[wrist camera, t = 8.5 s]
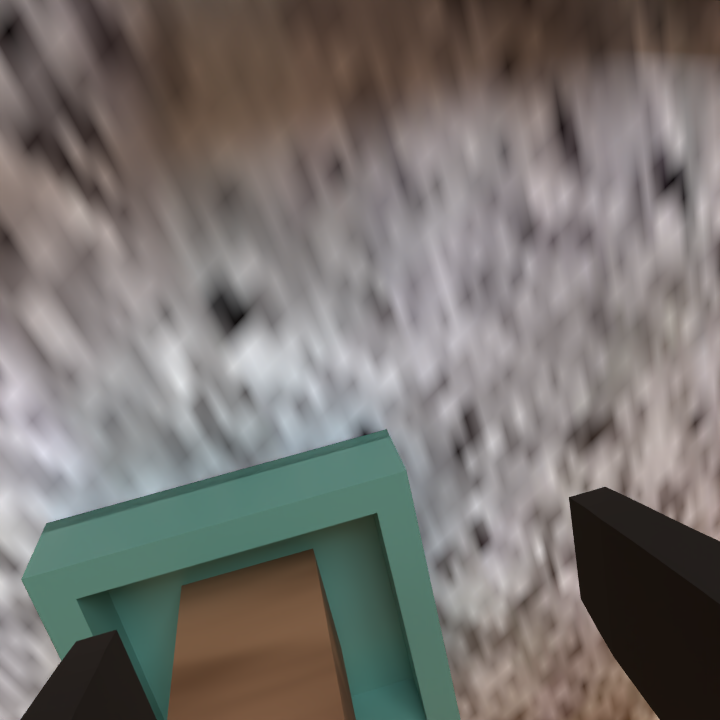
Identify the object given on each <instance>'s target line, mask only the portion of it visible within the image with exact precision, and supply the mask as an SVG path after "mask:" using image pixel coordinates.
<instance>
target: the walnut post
mask: <svg viewBox="0 0 720 720" xmlns="http://www.w3.org/2000/svg"><path fill="white" fill-rule="evenodd" d="M167 720H356V718H355V713H354V708H353V703H352V698H351V693H350V688H349V683H348V678H347V673H346V668H345V663H344V658H343V654H342V649H341V645H340V642H339V638H338V635H337V631H336V627H335V624H334V620H333V617H332V613H331V610H330V606H329V603H328V599H327V596H326V592H325V588H324V585H323V581H322V578H321V574H320V571H319V567H318V564H317V560H316V557H315V553H314V550H313V549H309V550H306V551H302V552H299V553H295V554H291V555H288V556H284V557H281V558H277V559H274V560H270V561H267V562H263V563H260V564H256V565H253V566H249V567H246V568H242V569H239V570H235V571H231V572H228V573H224V574H221V575H217V576H214V577H210V578H207V579H203V580H200V581H196V582H193V583H189V584H186V585H182V586H181V595H180V605H179V614H178V623H177V633H176V642H175V651H174V661H173V670H172V679H171V689H170V698H169V707H168V716H167Z"/></svg>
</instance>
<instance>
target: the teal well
mask: <svg viewBox="0 0 720 720" xmlns="http://www.w3.org/2000/svg"><path fill="white" fill-rule="evenodd" d="M309 549H313V550H314V553H315V557H316V560H317V564H318V567H319V571H320V574H321V578H322V581H323V585H324V588H325V592H326V596H327V599H328V603H329V606H330V610H331V613H332V617H333V620H334V624H335V627H336V631H337V635H338V638H339V642H340V645H341V649H342V654H343V658H344V663H345V668H346V673H347V678H348V683H349V688H350V693H351V698H352V703H353V708H354V713H355V718H356V720H460V715H459V710H458V706H457V701H456V697H455V692H454V688H453V683H452V678H451V674H450V669H449V665H448V660H447V655H446V651H445V646H444V642H443V637H442V632H441V628H440V623H439V619H438V614H437V609H436V605H435V600H434V596H433V591H432V586H431V582H430V577H429V573H428V568H427V563H426V559H425V554H424V550H423V545H422V540H421V536H420V531H419V527H418V522H417V517H416V513H415V508H414V504H413V499H412V494H411V490H410V485H409V481H408V476H407V472H406V469H405V467H404V465H403V463H402V461H401V459H400V456H399V454H398V452H397V450H396V448H395V446H394V444H393V442H392V440H391V438H390V436H389V434H388V432H387V430H383V431H379V432H375V433H372V434H368V435H365V436H361V437H357V438H354V439H350V440H346V441H343V442H339V443H336V444H332V445H328V446H325V447H321V448H318V449H314V450H310V451H307V452H303V453H299V454H296V455H292V456H289V457H285V458H281V459H278V460H274V461H271V462H267V463H263V464H260V465H256V466H252V467H249V468H245V469H242V470H238V471H234V472H231V473H227V474H223V475H220V476H216V477H213V478H209V479H205V480H202V481H198V482H195V483H191V484H187V485H184V486H180V487H176V488H173V489H169V490H166V491H162V492H158V493H155V494H151V495H148V496H144V497H140V498H137V499H133V500H129V501H126V502H122V503H119V504H115V505H111V506H108V507H104V508H101V509H97V510H93V511H90V512H86V513H82V514H79V515H75V516H72V517H68V518H64V519H61V520H57V521H53V522H50V523H46V526H45V528H44V530H43V532H42V535H41V537H40V539H39V541H38V543H37V546H36V548H35V550H34V552H33V554H32V557H31V559H30V561H29V563H28V566H27V568H26V570H25V572H24V574H23V577H22V579H21V580H22V582H23V584H24V586H25V588H26V590H27V592H28V594H29V596H30V598H31V600H32V602H33V604H34V606H35V608H36V610H37V612H38V614H39V616H40V618H41V620H42V622H43V624H44V626H45V628H46V630H47V632H48V634H49V636H50V638H51V640H52V642H53V645H54V647H55V649H56V651H57V653H58V655H59V657H60V659H61V661H62V660H63V658H64V657H65V656H66V654H67V653H68V651H69V650H70V649H71V648H72V646H73V645H74V644H75V642H76V641H79V640H82V639H86V638H89V637H93V636H96V635H100V634H103V633H106V632H110V631H113V630H117V631H118V634H119V636H120V638H121V640H122V643H123V645H124V647H125V649H126V652H127V654H128V656H129V658H130V661H131V663H132V665H133V667H134V670H135V672H136V674H137V676H138V679H139V681H140V683H141V685H142V688H143V690H144V692H145V694H146V697H147V699H148V701H149V703H150V706H151V708H152V710H153V712H154V715H155V717H156V719H157V720H167V716H168V707H169V698H170V689H171V679H172V670H173V661H174V651H175V642H176V633H177V623H178V614H179V605H180V595H181V586H182V585H186V584H189V583H193V582H196V581H200V580H203V579H207V578H210V577H214V576H217V575H221V574H224V573H228V572H231V571H235V570H239V569H242V568H246V567H249V566H253V565H256V564H260V563H263V562H267V561H270V560H274V559H277V558H281V557H284V556H288V555H291V554H295V553H299V552H302V551H306V550H309Z"/></svg>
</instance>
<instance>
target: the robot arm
mask: <svg viewBox="0 0 720 720" xmlns="http://www.w3.org/2000/svg"><path fill="white" fill-rule="evenodd" d="M569 502H570V510H571V519H572V527H573V536H574V544H575V553H576V561H577V570H578V579H579V587H580V596H581V600H582V602H583V604H584V605H585V607H586V609H587V611H588V613H589V614H590V616H591V618H592V620H593V622H594V623H595V625H596V627H597V629H598V631H599V632H600V634H601V636H602V637H603V639H604V641H605V643H606V644H607V646H608V648H609V649H610V651H611V653H612V654H613V656H614V658H615V659H616V660H617V662H618V663H619V664H620V666H621V667H622V669H623V670H624V671H625V673H626V674H627V676H628V677H629V678H630V680H631V681H632V682H633V684H634V685H635V686H636V688H637V689H638V691H639V692H640V693H641V695H642V696H643V697H644V699H645V700H646V701H647V703H648V704H649V706H650V707H651V708H652V710H653V711H654V712H655V714H656V715H657V716H658V718H659V719H660V720H720V541H718V540H716V539H713V538H711V537H709V536H707V535H705V534H703V533H700V532H698V531H696V530H694V529H692V528H690V527H688V526H686V525H684V524H682V523H680V522H677V521H675V520H673V519H671V518H669V517H667V516H665V515H663V514H661V513H659V512H657V511H655V510H653V509H651V508H649V507H647V506H645V505H643V504H641V503H639V502H636V501H634V500H632V499H630V498H628V497H626V496H624V495H622V494H620V493H618V492H616V491H613V490H611V489H609V488H607V487H603V488H599V489H596V490H593V491H589V492H586V493H582V494H579V495H575V496H572V497H569ZM21 720H157V719H156V717H155V715H154V712H153V710H152V708H151V706H150V703H149V701H148V699H147V697H146V694H145V692H144V690H143V688H142V685H141V683H140V681H139V679H138V676H137V674H136V672H135V670H134V667H133V665H132V663H131V661H130V658H129V656H128V654H127V652H126V649H125V647H124V645H123V643H122V640H121V638H120V636H119V634H118V631H117V630H113V631H110V632H106V633H103V634H100V635H96V636H93V637H89V638H86V639H82V640H79V641H76V642H75V644H74V645H73V646H72V648H71V649H70V650H69V651H68V653H67V654H66V656H65V657H64V658H63V660H62V661H61V663H60V664H59V665H58V667H57V668H56V670H55V671H54V672H53V674H52V675H51V677H50V678H49V680H48V681H47V682H46V684H45V685H44V687H43V688H42V690H41V691H40V693H39V694H38V695H37V697H36V698H35V700H34V701H33V703H32V704H31V705H30V707H29V708H28V710H27V711H26V713H25V714H24V715H23V717H22V718H21Z"/></svg>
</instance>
